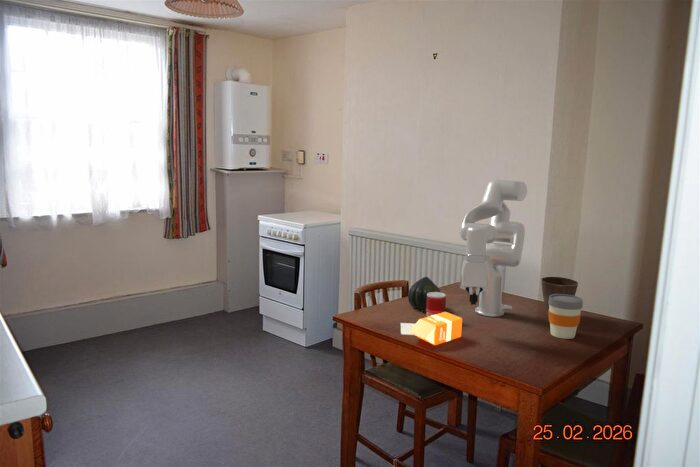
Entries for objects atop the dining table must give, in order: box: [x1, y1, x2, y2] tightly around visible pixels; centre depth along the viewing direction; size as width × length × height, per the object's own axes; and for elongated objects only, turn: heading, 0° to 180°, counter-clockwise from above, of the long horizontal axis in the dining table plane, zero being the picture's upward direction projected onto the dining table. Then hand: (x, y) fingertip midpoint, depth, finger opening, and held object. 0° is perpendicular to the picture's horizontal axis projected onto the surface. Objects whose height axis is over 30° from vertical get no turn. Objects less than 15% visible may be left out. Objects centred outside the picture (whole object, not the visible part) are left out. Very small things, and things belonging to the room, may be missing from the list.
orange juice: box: [409, 311, 463, 346], centre depth 196 cm, size 8×9×20 cm
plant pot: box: [541, 276, 579, 317], centre depth 226 cm, size 15×15×16 cm
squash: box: [407, 276, 442, 312], centre depth 235 cm, size 14×15×15 cm
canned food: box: [425, 291, 447, 317], centre depth 220 cm, size 8×8×11 cm
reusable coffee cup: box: [548, 294, 584, 340], centre depth 203 cm, size 13×13×15 cm
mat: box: [400, 322, 416, 336], centre depth 207 cm, size 17×13×1 cm
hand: (473, 303), depth 203 cm, fingers closed
